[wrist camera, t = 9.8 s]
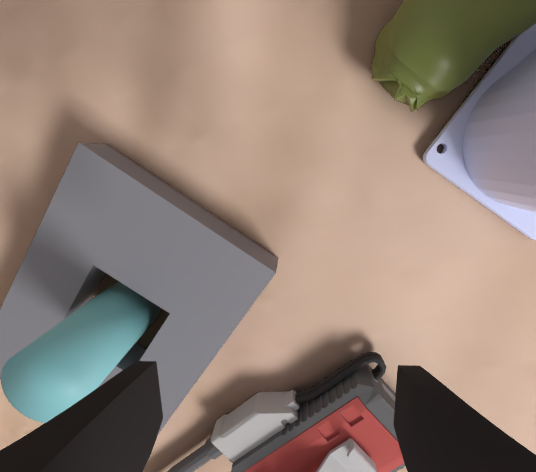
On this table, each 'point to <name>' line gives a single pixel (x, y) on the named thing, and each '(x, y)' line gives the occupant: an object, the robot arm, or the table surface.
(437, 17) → the pear
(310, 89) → the table surface
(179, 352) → the socket board
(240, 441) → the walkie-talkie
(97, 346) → the peg
